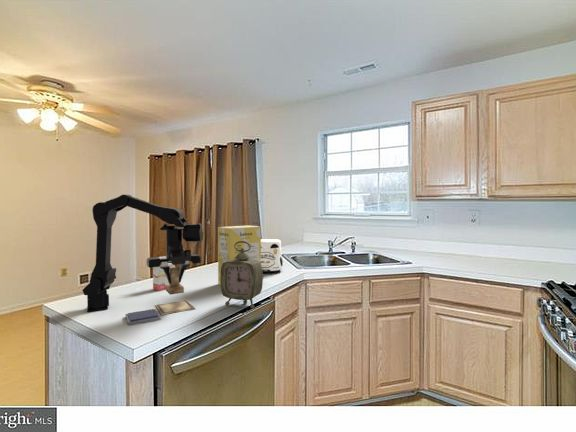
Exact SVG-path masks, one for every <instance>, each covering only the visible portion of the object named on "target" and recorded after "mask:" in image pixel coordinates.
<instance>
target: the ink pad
mask: <svg viewBox="0 0 576 432" xmlns="http://www.w3.org/2000/svg"><path fill="white" fill-rule="evenodd" d="M161 316H162V315H161V314H160V312H159V310H158V309H157V308H153V309H147V310H146V309H145V310H140V311H134V312H133V311H132V312H128V313H125V320H126V324H127V325H128V326H133V325H138V324H144V323H150V322H154V321H161V320H162V317H161Z"/></svg>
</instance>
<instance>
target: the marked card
mask: <svg viewBox="0 0 576 432" xmlns="http://www.w3.org/2000/svg"><path fill="white" fill-rule="evenodd" d="M155 307H156V310H157V311H158V313H159V314H160V316H163V315H170V314H175V313H181V312H187V311H192V310H196V306H194V305H193V304H192V303H191V302H190V301H189V300H187V299H185V300H180V301H171V302H167V303H160V304H159V303H158V304H155Z"/></svg>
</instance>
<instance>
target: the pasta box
mask: <svg viewBox="0 0 576 432" xmlns="http://www.w3.org/2000/svg"><path fill="white" fill-rule="evenodd" d="M261 227H262V226H261V225H260V226H259V225H258V226H257V225H234V226H232V225H231V226H218V227H217V267H218V269H217V271H218V272H217V273H218V276H217V277H218V278H217V279H218V280H217V281H218V282H217V283H218V285H219V284H220V286H221V280H220V278H221V267H222V264H223V263H225V262H227V261H230V260H233V259H236V256H237V254H239V253H241V252H239V251H237V250H236V249H238V250H241V248H243V249H244V250H248V249H249V248H250V247H249V245H248V244H246V243H238V244H236V246H235V247H236V249H235V248H234V245H235V243H236V242H238V241H245V242H248V243H249V244H250V246H251V248H250V250H249V251H247V252H244V253H246V254H247V255H248V256H249V259H254V260H258V261H259V262H260V263H261V239H262V238H261V237H262V228H261Z"/></svg>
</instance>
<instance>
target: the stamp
mask: <svg viewBox="0 0 576 432" xmlns="http://www.w3.org/2000/svg"><path fill="white" fill-rule="evenodd" d="M170 278H171V284H168V285H166V289H165V291H166V292H167V293H168V294H169V296H171V295H178V294H183V293H185V292H184V291H185V287H184V286H183V285H182V284H181V282H180V283H179V266H175V267H173V268H170Z"/></svg>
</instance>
